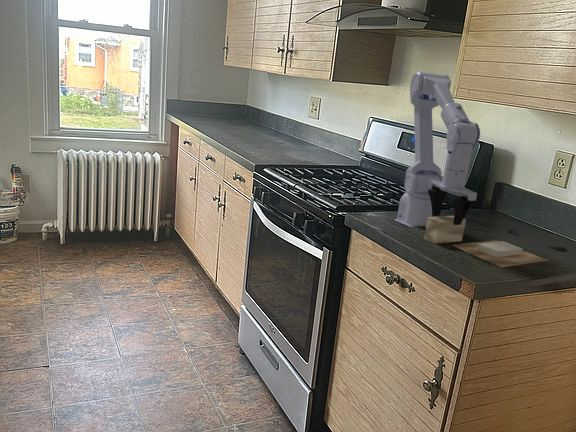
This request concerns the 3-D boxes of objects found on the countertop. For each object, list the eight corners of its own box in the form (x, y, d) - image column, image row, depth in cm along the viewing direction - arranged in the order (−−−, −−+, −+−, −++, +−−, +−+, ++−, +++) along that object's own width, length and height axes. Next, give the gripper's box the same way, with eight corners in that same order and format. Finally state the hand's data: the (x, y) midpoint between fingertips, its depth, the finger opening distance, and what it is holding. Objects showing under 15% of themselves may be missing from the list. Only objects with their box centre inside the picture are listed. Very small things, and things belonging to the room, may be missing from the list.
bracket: (527, 236, 166) (529, 227, 165) (565, 253, 152) (567, 243, 152) (488, 236, 161) (490, 227, 161) (523, 253, 148) (525, 243, 147)
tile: (477, 243, 139) (496, 251, 135) (503, 241, 145) (522, 248, 140) (476, 250, 140) (495, 258, 135) (502, 247, 145) (521, 254, 140)
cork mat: (450, 248, 142) (451, 244, 142) (496, 243, 151) (497, 240, 151) (501, 271, 129) (502, 267, 129) (547, 264, 138) (548, 260, 138)
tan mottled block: (423, 242, 145) (427, 217, 143) (449, 240, 150) (454, 215, 148) (434, 247, 142) (439, 221, 140) (460, 244, 147) (466, 219, 145)
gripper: (424, 163, 144) (415, 212, 148) (467, 176, 133) (456, 229, 136) (443, 163, 148) (434, 211, 152) (486, 175, 136) (475, 227, 140)
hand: (446, 220), depth 144 cm, fingers open, 7 cm apart
